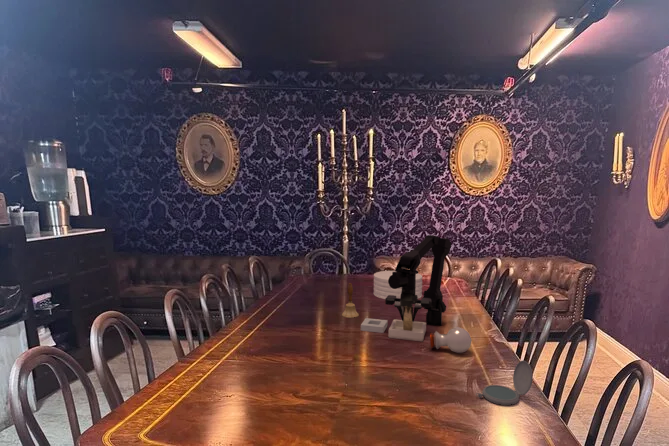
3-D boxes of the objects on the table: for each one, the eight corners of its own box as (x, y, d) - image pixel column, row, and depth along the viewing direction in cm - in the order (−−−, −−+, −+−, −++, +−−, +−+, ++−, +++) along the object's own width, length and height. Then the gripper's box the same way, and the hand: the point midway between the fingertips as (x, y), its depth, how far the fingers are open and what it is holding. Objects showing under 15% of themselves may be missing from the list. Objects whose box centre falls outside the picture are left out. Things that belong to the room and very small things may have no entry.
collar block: (387, 325, 187) (387, 320, 187) (383, 332, 177) (383, 327, 177) (365, 323, 190) (365, 318, 190) (360, 330, 180) (360, 324, 180)
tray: (425, 330, 181) (426, 322, 181) (422, 341, 168) (423, 333, 167) (393, 327, 185) (393, 319, 185) (388, 337, 172) (388, 329, 172)
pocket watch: (536, 369, 117) (484, 369, 117) (534, 406, 118) (482, 407, 117) (519, 355, 127) (471, 355, 127) (518, 389, 128) (470, 390, 127)
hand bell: (357, 318, 197) (357, 285, 196) (340, 317, 199) (340, 284, 198) (359, 313, 206) (360, 281, 204) (343, 312, 207) (343, 280, 206)
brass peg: (413, 328, 178) (413, 305, 177) (412, 331, 174) (412, 308, 173) (403, 327, 179) (404, 304, 178) (402, 330, 175) (402, 307, 174)
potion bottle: (473, 358, 155) (432, 358, 159) (471, 336, 162) (432, 336, 166) (471, 343, 149) (429, 343, 154) (469, 321, 156) (429, 322, 161)
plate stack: (365, 291, 250) (365, 272, 249) (403, 287, 262) (404, 269, 261) (390, 303, 225) (390, 282, 224) (431, 297, 237) (432, 277, 236)
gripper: (383, 287, 170) (382, 325, 171) (429, 291, 164) (429, 329, 166) (387, 281, 180) (387, 317, 182) (431, 285, 175) (431, 321, 176)
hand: (407, 321), depth 176 cm, fingers closed on brass peg, 4 cm apart
